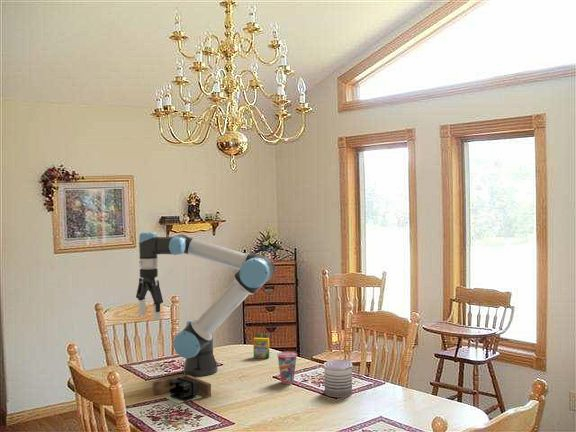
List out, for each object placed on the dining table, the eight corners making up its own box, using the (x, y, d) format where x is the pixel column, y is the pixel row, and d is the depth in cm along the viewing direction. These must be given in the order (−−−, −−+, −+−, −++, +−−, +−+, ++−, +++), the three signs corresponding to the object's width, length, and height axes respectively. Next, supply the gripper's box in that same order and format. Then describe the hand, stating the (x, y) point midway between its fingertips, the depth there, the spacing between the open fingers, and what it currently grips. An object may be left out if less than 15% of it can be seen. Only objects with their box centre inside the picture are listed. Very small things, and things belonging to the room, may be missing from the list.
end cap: (199, 397, 251) (199, 380, 251) (185, 401, 246) (185, 384, 246) (183, 392, 258) (182, 375, 257) (168, 396, 252) (168, 379, 252)
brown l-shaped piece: (187, 386, 266) (187, 374, 266) (211, 396, 253) (210, 383, 252) (152, 394, 256) (152, 381, 256) (175, 405, 242) (174, 392, 242)
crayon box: (253, 358, 311) (253, 334, 310) (254, 356, 314) (254, 333, 313) (268, 358, 309) (268, 334, 309) (269, 357, 312) (269, 333, 312)
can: (358, 392, 256) (358, 362, 255) (340, 399, 248) (340, 368, 247) (336, 386, 264) (335, 357, 263) (318, 393, 255) (317, 363, 255)
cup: (274, 384, 268) (273, 355, 268) (282, 378, 276) (281, 350, 276) (295, 386, 265) (294, 357, 264) (302, 380, 273) (302, 352, 272)
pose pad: (190, 392, 259) (190, 391, 259) (201, 397, 252) (201, 396, 252) (165, 397, 252) (165, 397, 252) (177, 403, 245) (177, 402, 245)
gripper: (127, 266, 284) (128, 314, 285) (154, 271, 265) (155, 322, 265) (143, 265, 289) (144, 312, 290) (170, 269, 269) (171, 320, 270)
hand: (149, 317), depth 278 cm, fingers open, 13 cm apart
